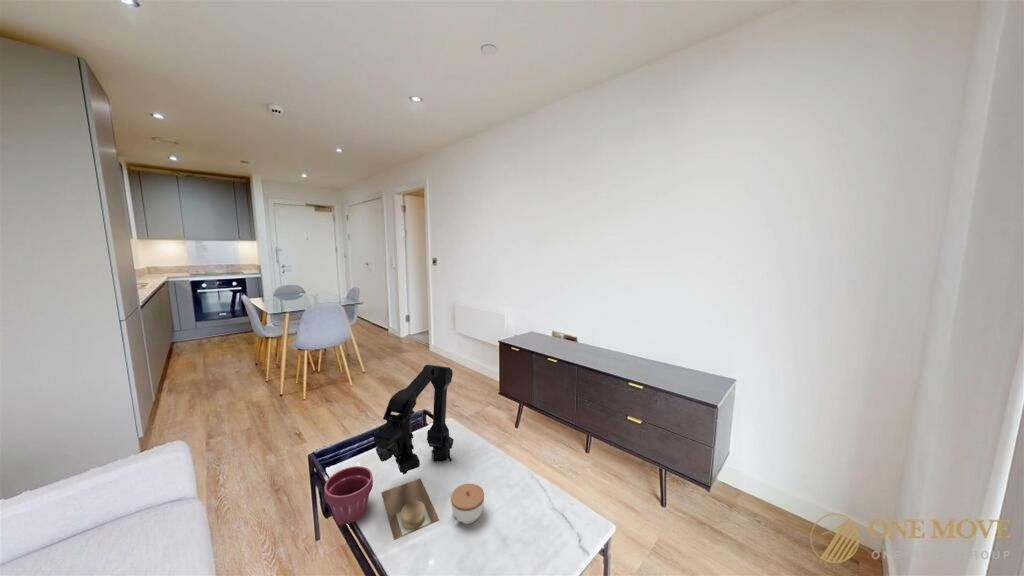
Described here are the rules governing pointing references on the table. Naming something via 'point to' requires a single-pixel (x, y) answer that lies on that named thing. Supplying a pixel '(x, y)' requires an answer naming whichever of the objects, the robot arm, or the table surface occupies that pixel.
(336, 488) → the plant pot
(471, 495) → the lidded jar
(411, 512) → the oak puck
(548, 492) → the table surface
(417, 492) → the walnut board
